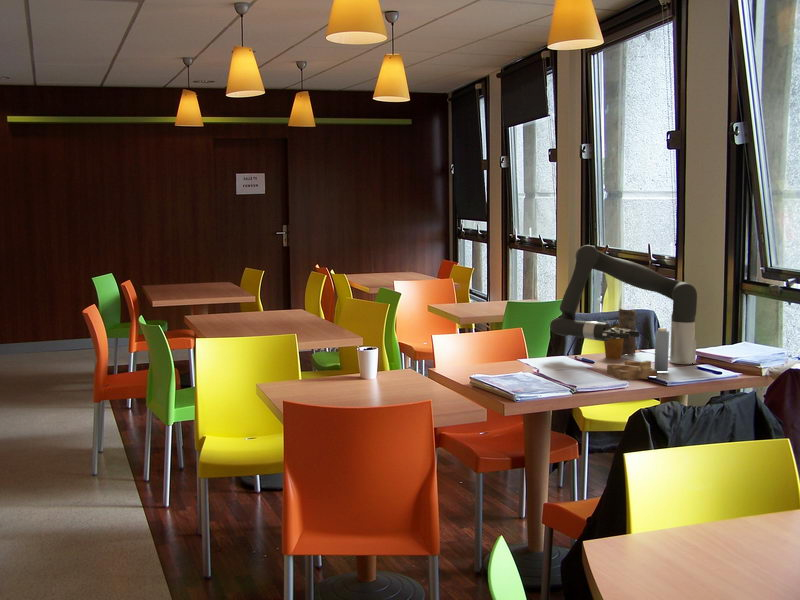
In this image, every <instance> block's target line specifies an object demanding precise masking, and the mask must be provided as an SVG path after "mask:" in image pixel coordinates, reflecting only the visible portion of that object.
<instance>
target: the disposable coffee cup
mask: <svg viewBox="0 0 800 600" xmlns="http://www.w3.org/2000/svg"><path fill="white" fill-rule="evenodd" d="M623 341H624V339H622V338H620V339H618V338H617V339H612V338H610V339H609V340H608V341H603V343H604V344H603V345H604V354H605V358H606V359H607V358H609V359H608V360H621V359H622V355H623V354H622V348H623Z"/></svg>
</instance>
